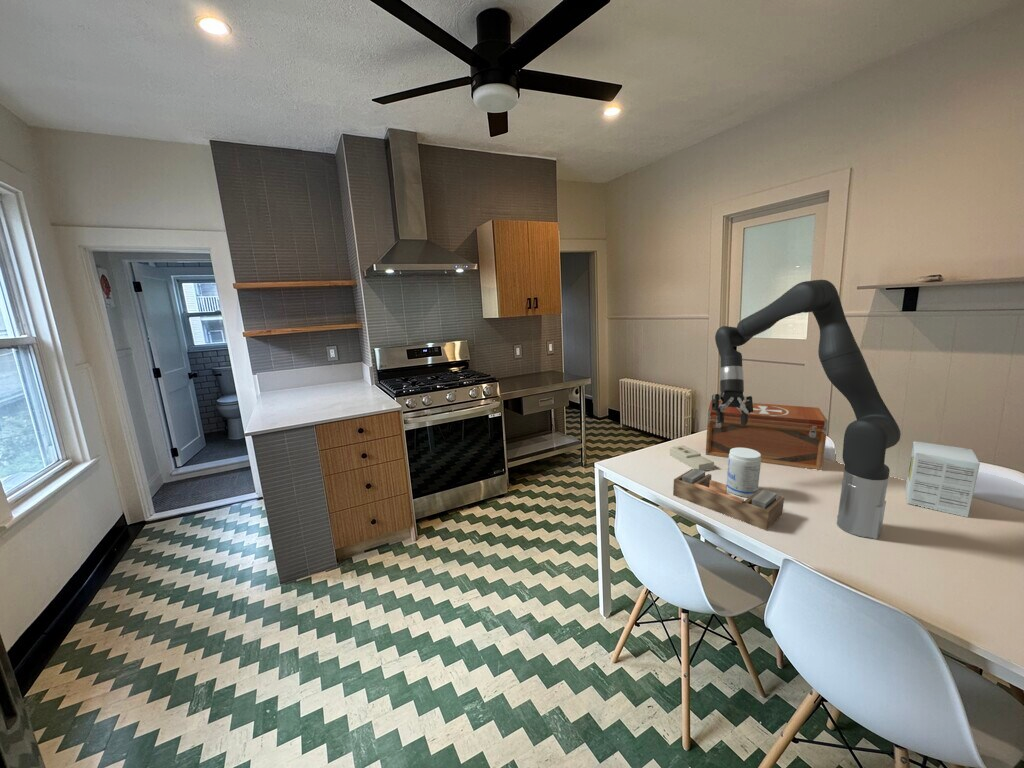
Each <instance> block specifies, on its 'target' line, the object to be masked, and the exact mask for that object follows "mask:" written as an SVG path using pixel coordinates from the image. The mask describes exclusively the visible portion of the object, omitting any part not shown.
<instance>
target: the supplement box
mask: <svg viewBox="0 0 1024 768" xmlns="http://www.w3.org/2000/svg"><path fill="white" fill-rule="evenodd" d="M911 447H912V448H911V455H910V461H909V466H908V471H907V472H908V473H907V477H906V485H905V499H906V498H907V500H906V504H907V503H910V504H914V505H913V506H915V505H918V506H917V507H919V506H921V508H924V507H925V508H924V509H928V508H930V509H929V510H932V509H934V510H933V511H937V510H938V511H937V512H941V511H942V512H941V513H946V514H950V513H951V515H955V514H956V516H959V515H961V516H960V517H963V516H965V517H964V518H969V514H970V511H971V505H972V500H973V496H974V491H975V488H976V484H977V480H978V479H977V478H978V474H979V469H980V464H981V463H980V461H979V458H978V457H977V455H976V453H975V451H974V450H973V449H971V448H965V447H959V446H958V447H957V446H952V445H945V444H944V445H943V444H938V443H930V442H924V441H916V440H913V442H912V446H911ZM910 504H909V505H910Z"/></svg>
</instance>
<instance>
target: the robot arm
mask: <svg viewBox="0 0 1024 768" xmlns="http://www.w3.org/2000/svg"><path fill="white" fill-rule="evenodd" d="M802 313H805V314H807V313H812V314H813V316H814V318H815V321H816V323H817V325H818V328H819V342H818V352H817V353H818V359H819V361H820V364H821V367H822V368H823V371H824V373H825V375H826V377H827V379H828V381H829V382H830V383H831V384H832V385H833V386H834V387H835V389H837V390H838V391H839V392H840V393H841V394H842V395H843V396H844V398H845V399H846V400H847V401H848V402H849V404H850V406H851V408H852V410H853V413H854V415H855V418H856V420H854V421H852V422H850V423H848V425H847V426H846V428H845V431H844V436H843V444H842V445H843V446H842V461H843V463H844V467H843V476H842V482H841V488H840V489H841V490H840V496H839V497H840V498H839V505H838V511H837V512H838V513H837V516H836V517H837V519H836V525H837V526H838V528H840V529H842V530H843V531H845V532H847V533H849V534H852V535H854V536H858V537H863V538H871V539H874V540H878V538H879V536H880V534H881V533H882V528H883V522H884V516H885V512H886V511H885V510H886V506H887V505H886V504H887V501H886V496H887V489H888V485H889V479H890V470H891V469H890V467H889V466H888V464H885V461H886V450H888V449H890V448H893V447H895V446H896V445H897V444H898V443H899V441H900V440H901V435H902V434H901V429H900V426H899V425H898V423H897V421H896V419H895V418H894V416H893V415H892V413H891V411H890V410H889V409H888V407H887V405H886V404H885V402H884V400H883V398H882V396H881V394H880V393H879V390H878V387H877V385H876V383H875V380H874V378H873V377H872V375H871V374H872V373H871V372H870V370H869V367H868V364H867V361H866V360H865V358H864V356H863V354H862V351H861V349H860V347H859V345H858V343H857V341H856V339H855V337H854V335H853V332H852V330H851V327H850V325H849V323H848V321H847V317H846V315H845V311H844V309H843V305H842V302H841V298H840V295H839V292H838V289H837V288H836V286H835V285H834V283H832V282H831V281H829V280H828V279H827V280H826V279H816V280H815V279H814V280H805V281H802V282H799V283H797V284H795V285H794V286H792V287H791V288H790V289H788V290H787V291H785V292H784V293H783V294H782V295H781V296H779V297H778V298H777V299H775V300H773V301H772V302H771V303H768V305H766V306H765V307H763V308H761V309H759V310H757V311H756V312H754V313H751V314H750V315H748V316H747V317H745V318H742V319H741V320H740V321H739V322H738V323H737V325H736V327H735V326H728V325H723V326H720V327H718V329H717V331H716V332H715V336H714V338H715V339H714V340H715V344H716V348H717V351H718V354H719V356H720V373H719V384H720V385H719V386H720V389H719V391H720V394H719V393H716V394H715V393H714V394H712V395H711V400H712V410H713V411H716V412H717V420H718V421H719V423H724V413H723V411H724V410H725V409H726V408H727V407H736V408H737V409H738V410H739V411H740V412H741V424H742V425H745V424H747V422H748V413H751V412H753V403H754V402H753V396H752V395H748V396H744V391H745V389H744V387H745V386H744V385H745V384H744V383H745V381H744V380H745V379H744V370H743V354H742V353H741V351H738V350H736V349H735V348H734V347H741V346H743V345H745V344H747V343H748V342H749V341H750V340H751V339H752V338H753V337H755V336H757V335H759V334H761V333H764V332H766V331H767V330H769V329H770V328H772V327H773V326H775V324H777V323H778V322H779V321H781V320H783V319H785V318H788V317H791V316H794V315H798V314H802ZM719 401H722V403H721V404H720V405H719ZM743 402H745V405H744V403H743Z"/></svg>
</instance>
